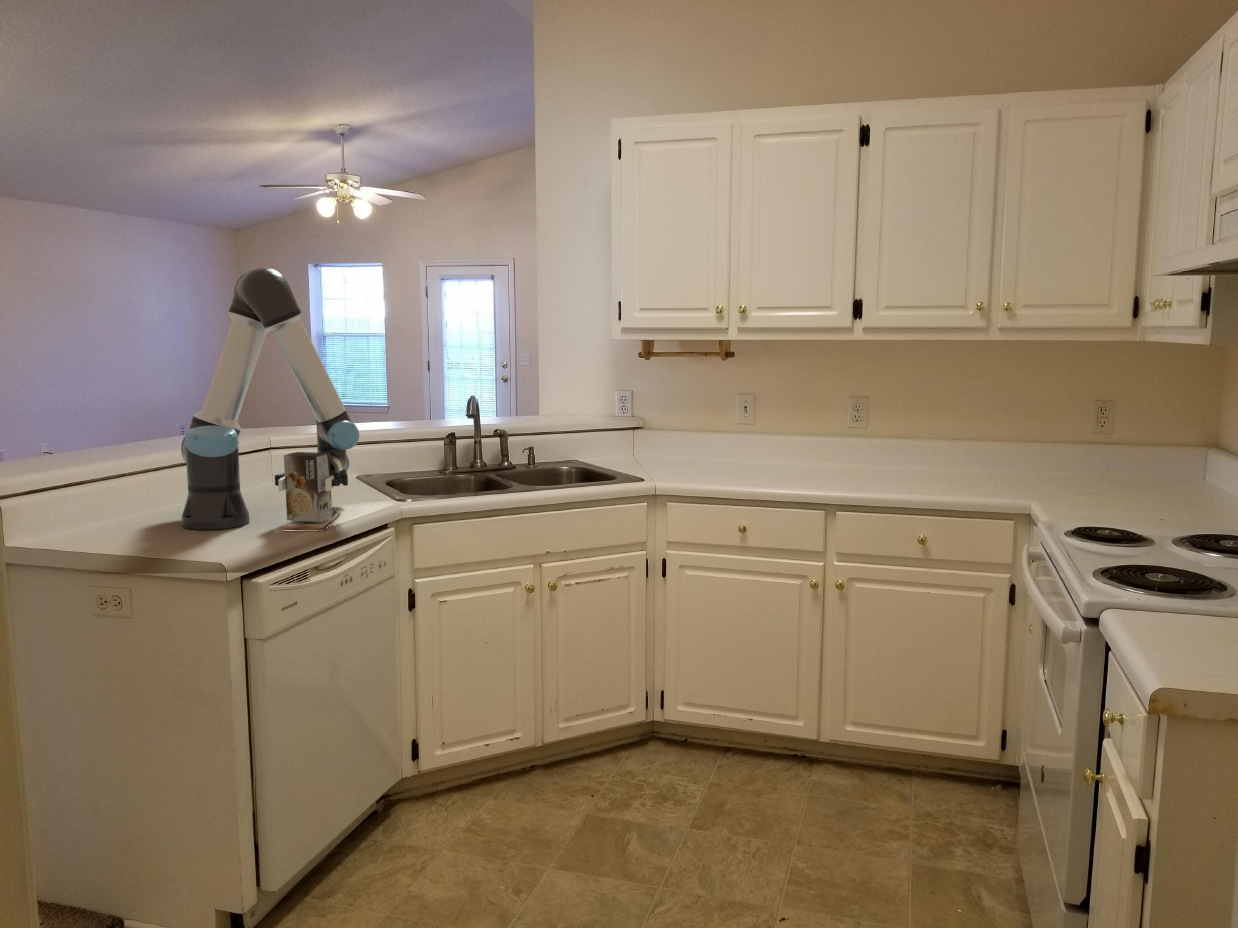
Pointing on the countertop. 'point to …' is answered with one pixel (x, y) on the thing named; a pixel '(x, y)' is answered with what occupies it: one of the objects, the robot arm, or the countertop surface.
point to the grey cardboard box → (307, 486)
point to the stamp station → (313, 523)
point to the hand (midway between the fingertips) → (303, 485)
